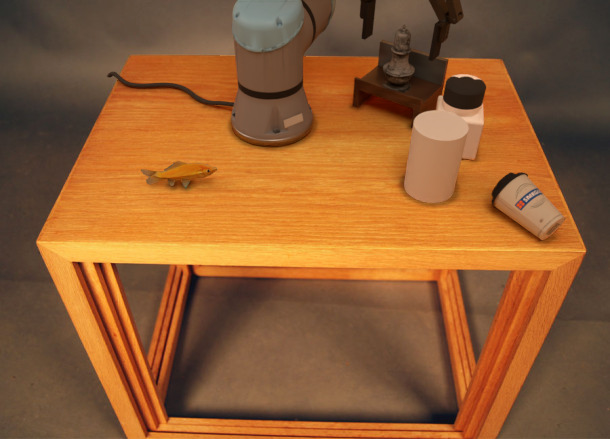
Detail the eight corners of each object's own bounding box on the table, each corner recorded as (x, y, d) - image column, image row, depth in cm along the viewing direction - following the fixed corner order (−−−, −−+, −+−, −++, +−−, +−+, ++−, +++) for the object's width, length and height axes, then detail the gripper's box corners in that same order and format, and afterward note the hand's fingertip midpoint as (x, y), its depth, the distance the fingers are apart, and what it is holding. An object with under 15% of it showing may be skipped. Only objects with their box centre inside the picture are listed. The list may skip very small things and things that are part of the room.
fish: (222, 177, 93) (214, 152, 89) (220, 185, 91) (212, 161, 88) (151, 185, 94) (140, 161, 91) (148, 193, 93) (137, 169, 90)
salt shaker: (392, 96, 104) (400, 34, 96) (375, 82, 108) (381, 21, 99) (418, 89, 106) (428, 27, 98) (400, 75, 110) (408, 15, 101)
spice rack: (352, 106, 111) (355, 59, 104) (377, 85, 117) (382, 39, 110) (416, 129, 105) (424, 81, 98) (439, 106, 111) (448, 59, 104)
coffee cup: (531, 252, 85) (484, 208, 90) (566, 225, 85) (518, 183, 90) (538, 232, 79) (487, 186, 84) (575, 203, 79) (523, 159, 84)
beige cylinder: (454, 175, 95) (469, 114, 87) (453, 206, 89) (468, 144, 81) (406, 168, 96) (415, 107, 88) (401, 198, 90) (411, 136, 82)
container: (475, 161, 98) (492, 95, 89) (429, 155, 99) (442, 90, 90) (474, 136, 103) (490, 71, 94) (431, 131, 104) (443, 67, 96)
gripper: (336, -92, 90) (330, 35, 104) (484, -60, 79) (454, 75, 94) (360, -102, 94) (351, 21, 109) (503, -73, 84) (472, 58, 99)
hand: (399, 47), depth 101 cm, fingers open, 13 cm apart
